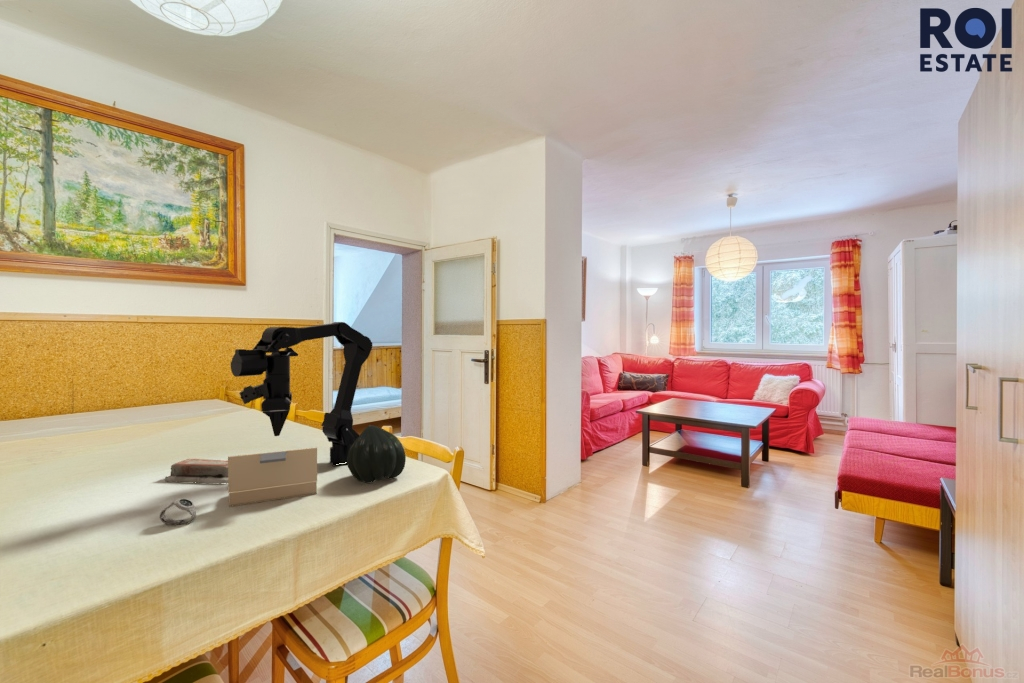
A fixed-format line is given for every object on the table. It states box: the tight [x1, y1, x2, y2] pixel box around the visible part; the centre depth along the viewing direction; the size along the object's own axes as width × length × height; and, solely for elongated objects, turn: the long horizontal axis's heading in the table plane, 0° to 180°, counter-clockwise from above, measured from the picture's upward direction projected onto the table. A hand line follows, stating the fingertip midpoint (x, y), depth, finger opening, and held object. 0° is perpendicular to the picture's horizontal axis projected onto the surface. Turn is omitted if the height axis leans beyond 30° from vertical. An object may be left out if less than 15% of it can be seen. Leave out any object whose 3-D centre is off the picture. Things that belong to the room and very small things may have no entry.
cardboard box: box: [228, 480, 318, 507], centre depth 103 cm, size 18×8×3 cm, turn 116°
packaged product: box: [164, 458, 228, 484], centre depth 115 cm, size 18×5×10 cm
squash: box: [346, 424, 407, 484], centre depth 115 cm, size 14×15×15 cm
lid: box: [227, 446, 318, 494], centre depth 97 cm, size 18×8×6 cm
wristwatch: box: [159, 498, 197, 527], centre depth 87 cm, size 4×6×5 cm, turn 102°
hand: (277, 432), depth 112 cm, fingers open, 9 cm apart
